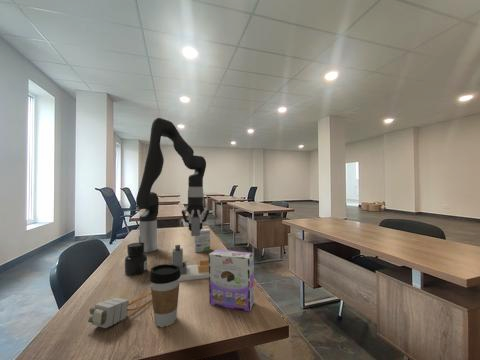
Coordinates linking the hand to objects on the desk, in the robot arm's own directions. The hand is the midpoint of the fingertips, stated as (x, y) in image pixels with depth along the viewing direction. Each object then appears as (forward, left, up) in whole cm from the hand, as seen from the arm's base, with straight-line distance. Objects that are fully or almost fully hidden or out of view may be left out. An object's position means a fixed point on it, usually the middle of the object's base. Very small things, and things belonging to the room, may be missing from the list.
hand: (195, 230), depth 111 cm
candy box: (+10, -42, -15) cm, 46 cm away
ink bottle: (-26, -7, -15) cm, 31 cm away
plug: (0, 0, -2) cm, 2 cm away
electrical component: (-21, -37, -16) cm, 45 cm away
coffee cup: (-10, -46, -15) cm, 50 cm away
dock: (-2, -15, -15) cm, 21 cm away
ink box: (+4, +16, -15) cm, 23 cm away
